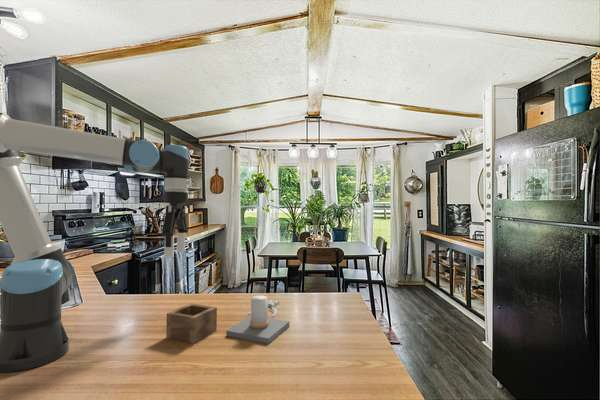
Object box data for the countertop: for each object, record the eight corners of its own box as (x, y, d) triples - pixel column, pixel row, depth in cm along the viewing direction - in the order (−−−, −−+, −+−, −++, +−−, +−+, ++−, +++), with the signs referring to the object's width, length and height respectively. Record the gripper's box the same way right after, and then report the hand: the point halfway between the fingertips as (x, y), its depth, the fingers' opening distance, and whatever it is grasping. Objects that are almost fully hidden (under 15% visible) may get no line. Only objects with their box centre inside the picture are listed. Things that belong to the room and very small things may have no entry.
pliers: (247, 310, 111) (263, 298, 125) (247, 315, 111) (263, 302, 125) (273, 313, 108) (287, 301, 123) (273, 318, 108) (287, 305, 123)
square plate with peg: (268, 343, 87) (268, 307, 88) (226, 335, 93) (226, 301, 93) (289, 326, 100) (289, 294, 101) (251, 319, 106) (251, 289, 106)
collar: (193, 343, 87) (194, 318, 87) (166, 337, 91) (166, 313, 91) (216, 330, 97) (216, 307, 97) (190, 325, 100) (190, 303, 100)
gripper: (177, 189, 95) (175, 260, 95) (196, 192, 120) (195, 248, 120) (151, 189, 95) (150, 260, 94) (175, 192, 119) (174, 248, 119)
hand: (175, 254), depth 107 cm, fingers open, 13 cm apart
